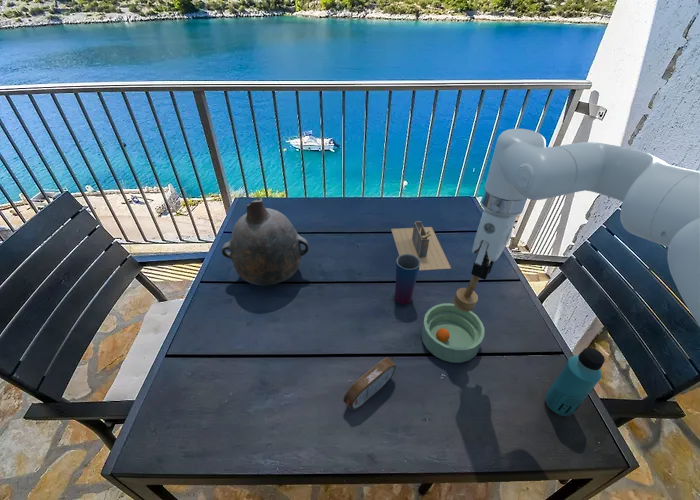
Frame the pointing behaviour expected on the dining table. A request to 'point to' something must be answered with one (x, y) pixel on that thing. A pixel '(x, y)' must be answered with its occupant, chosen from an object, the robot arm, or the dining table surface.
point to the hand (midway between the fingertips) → (480, 273)
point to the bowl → (452, 333)
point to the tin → (369, 383)
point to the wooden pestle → (467, 296)
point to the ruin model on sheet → (421, 246)
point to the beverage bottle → (575, 382)
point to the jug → (264, 246)
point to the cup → (406, 277)
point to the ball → (442, 335)
